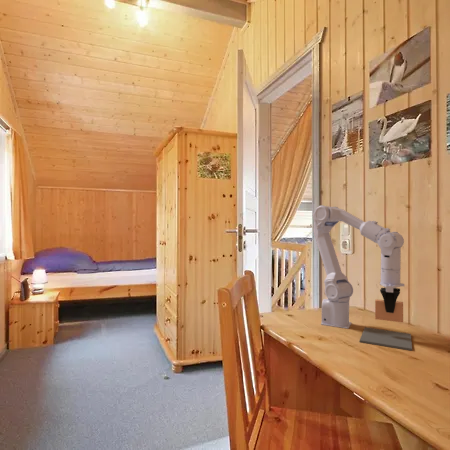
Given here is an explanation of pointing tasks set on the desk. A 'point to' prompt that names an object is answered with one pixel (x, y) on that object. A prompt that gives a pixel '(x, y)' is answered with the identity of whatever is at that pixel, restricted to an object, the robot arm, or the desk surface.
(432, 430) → the desk surface
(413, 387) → the desk surface
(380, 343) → the mat
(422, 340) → the desk surface
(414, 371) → the desk surface
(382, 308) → the slab
